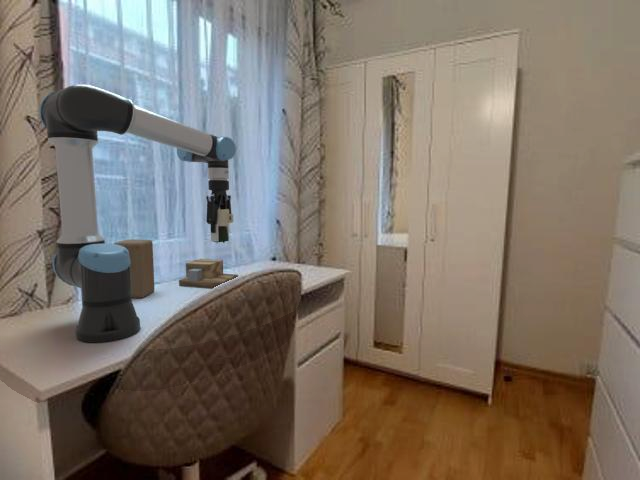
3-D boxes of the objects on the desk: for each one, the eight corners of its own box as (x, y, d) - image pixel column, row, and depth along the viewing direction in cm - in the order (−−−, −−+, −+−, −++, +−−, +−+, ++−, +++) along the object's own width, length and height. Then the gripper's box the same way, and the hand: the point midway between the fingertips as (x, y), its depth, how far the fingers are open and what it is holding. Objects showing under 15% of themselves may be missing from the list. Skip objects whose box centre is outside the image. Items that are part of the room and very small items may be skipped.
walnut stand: (219, 289, 150) (218, 267, 149) (179, 285, 155) (178, 265, 154) (238, 280, 166) (237, 260, 165) (200, 277, 170) (200, 258, 169)
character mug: (237, 242, 150) (236, 208, 148) (229, 244, 143) (229, 209, 141) (211, 241, 152) (210, 208, 150) (202, 243, 145) (201, 209, 144)
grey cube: (197, 280, 153) (197, 271, 152) (188, 280, 154) (188, 270, 153) (202, 278, 157) (202, 269, 156) (194, 278, 158) (193, 268, 157)
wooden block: (143, 298, 136) (140, 242, 134) (115, 298, 136) (112, 242, 134) (155, 291, 146) (153, 239, 144) (129, 291, 146) (127, 239, 144)
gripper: (212, 178, 134) (214, 243, 137) (240, 180, 153) (241, 237, 156) (194, 179, 136) (196, 243, 139) (223, 180, 155) (225, 236, 158)
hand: (220, 240), depth 148 cm, fingers closed on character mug, 7 cm apart
